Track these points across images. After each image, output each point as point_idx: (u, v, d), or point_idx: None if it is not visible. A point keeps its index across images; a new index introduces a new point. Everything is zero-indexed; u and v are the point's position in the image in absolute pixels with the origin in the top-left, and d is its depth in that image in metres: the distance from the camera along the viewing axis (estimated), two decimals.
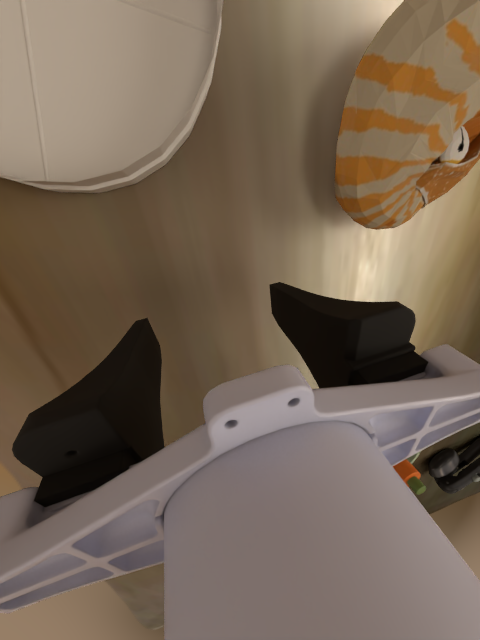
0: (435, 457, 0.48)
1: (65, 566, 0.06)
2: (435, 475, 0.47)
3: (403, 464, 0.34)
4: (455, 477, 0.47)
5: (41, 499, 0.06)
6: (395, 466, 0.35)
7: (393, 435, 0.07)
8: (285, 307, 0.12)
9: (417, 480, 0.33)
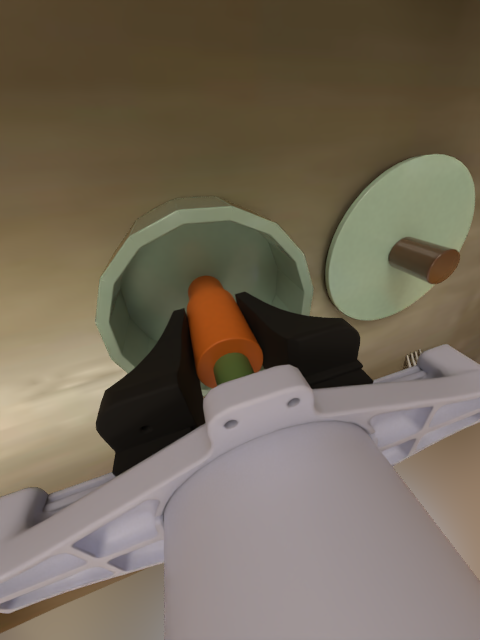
0: None
1: (65, 566, 0.06)
2: None
3: None
4: None
5: (118, 472, 0.07)
6: None
7: (393, 435, 0.07)
8: (247, 318, 0.12)
9: (216, 379, 0.10)
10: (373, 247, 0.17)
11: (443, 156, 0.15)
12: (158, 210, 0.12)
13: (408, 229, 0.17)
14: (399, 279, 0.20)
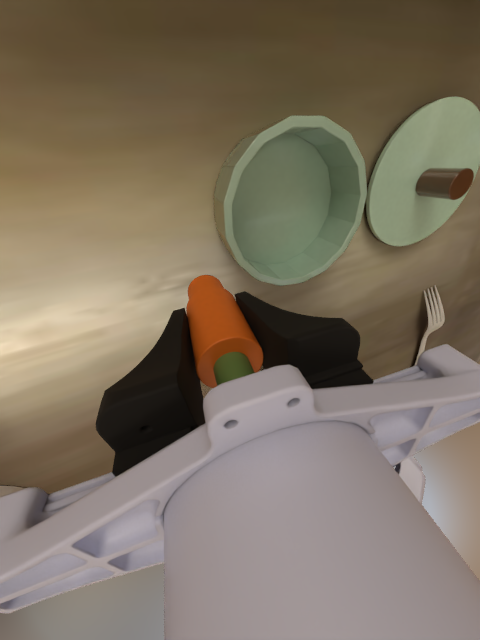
0: None
1: (65, 566, 0.06)
2: None
3: None
4: None
5: (118, 472, 0.07)
6: None
7: (393, 435, 0.07)
8: (247, 318, 0.12)
9: (216, 379, 0.10)
10: (405, 175, 0.22)
11: (461, 98, 0.20)
12: (263, 128, 0.17)
13: (432, 161, 0.22)
14: (423, 208, 0.25)
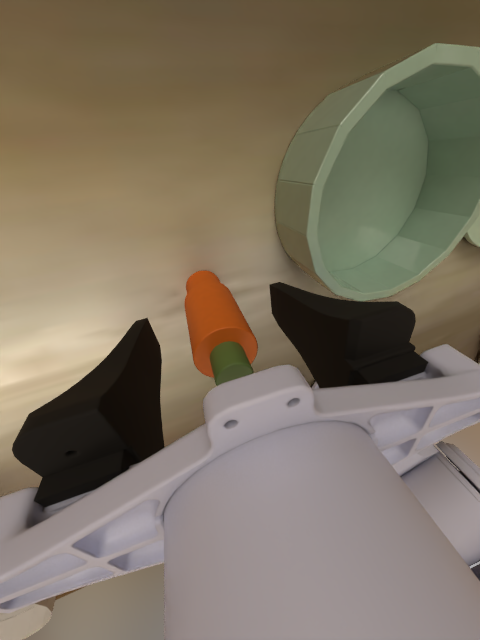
0: None
1: (65, 566, 0.06)
2: None
3: None
4: None
5: (41, 499, 0.06)
6: None
7: (393, 435, 0.07)
8: (285, 307, 0.12)
9: (212, 366, 0.10)
10: None
11: None
12: (367, 75, 0.11)
13: None
14: None
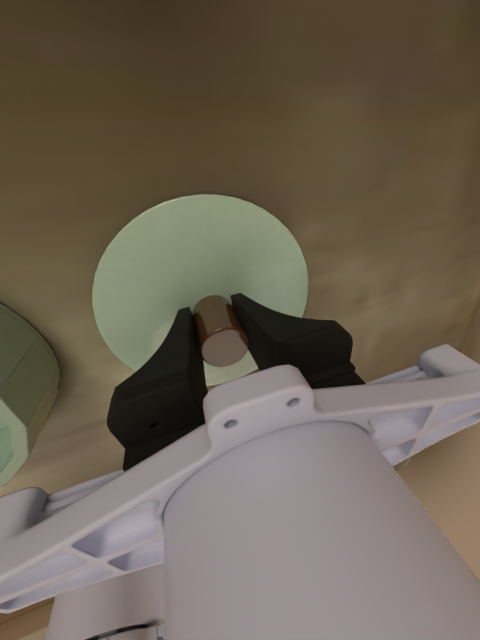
0: None
1: (65, 566, 0.06)
2: None
3: None
4: None
5: (128, 468, 0.07)
6: None
7: (393, 435, 0.07)
8: (242, 319, 0.12)
9: None
10: (162, 310, 0.13)
11: (215, 197, 0.11)
12: None
13: (208, 286, 0.13)
14: None
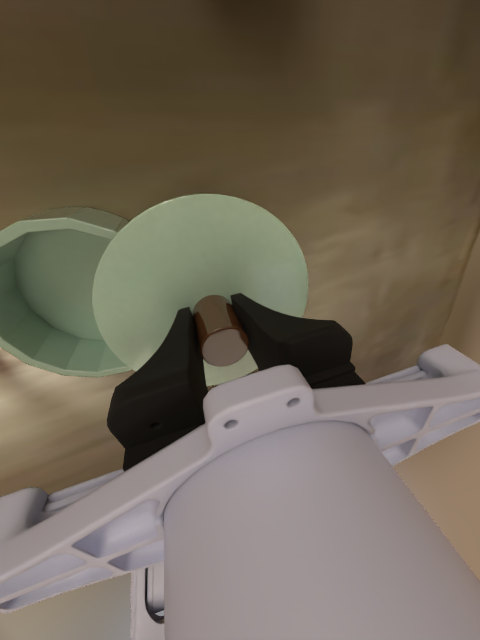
0: None
1: (65, 566, 0.06)
2: None
3: None
4: None
5: (128, 468, 0.07)
6: None
7: (393, 435, 0.07)
8: (242, 319, 0.12)
9: None
10: (162, 310, 0.13)
11: (215, 196, 0.11)
12: None
13: (208, 286, 0.13)
14: None
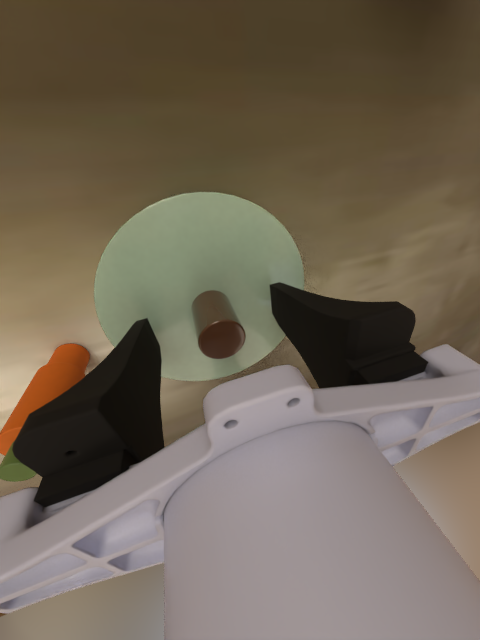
0: None
1: (65, 566, 0.06)
2: None
3: None
4: None
5: (41, 499, 0.06)
6: None
7: (393, 435, 0.07)
8: (285, 307, 0.12)
9: None
10: (162, 305, 0.13)
11: (213, 194, 0.11)
12: None
13: (206, 282, 0.13)
14: None
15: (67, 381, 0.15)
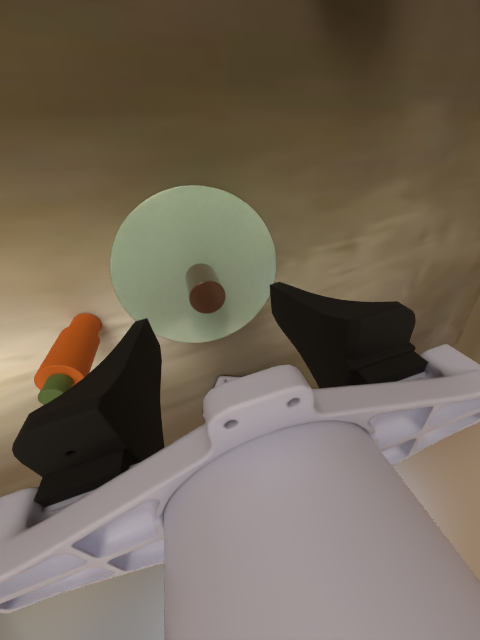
0: None
1: (65, 566, 0.06)
2: None
3: None
4: None
5: (41, 499, 0.06)
6: None
7: (393, 435, 0.07)
8: (285, 307, 0.12)
9: None
10: (162, 274, 0.17)
11: (200, 187, 0.15)
12: None
13: (196, 256, 0.17)
14: None
15: (86, 339, 0.19)
